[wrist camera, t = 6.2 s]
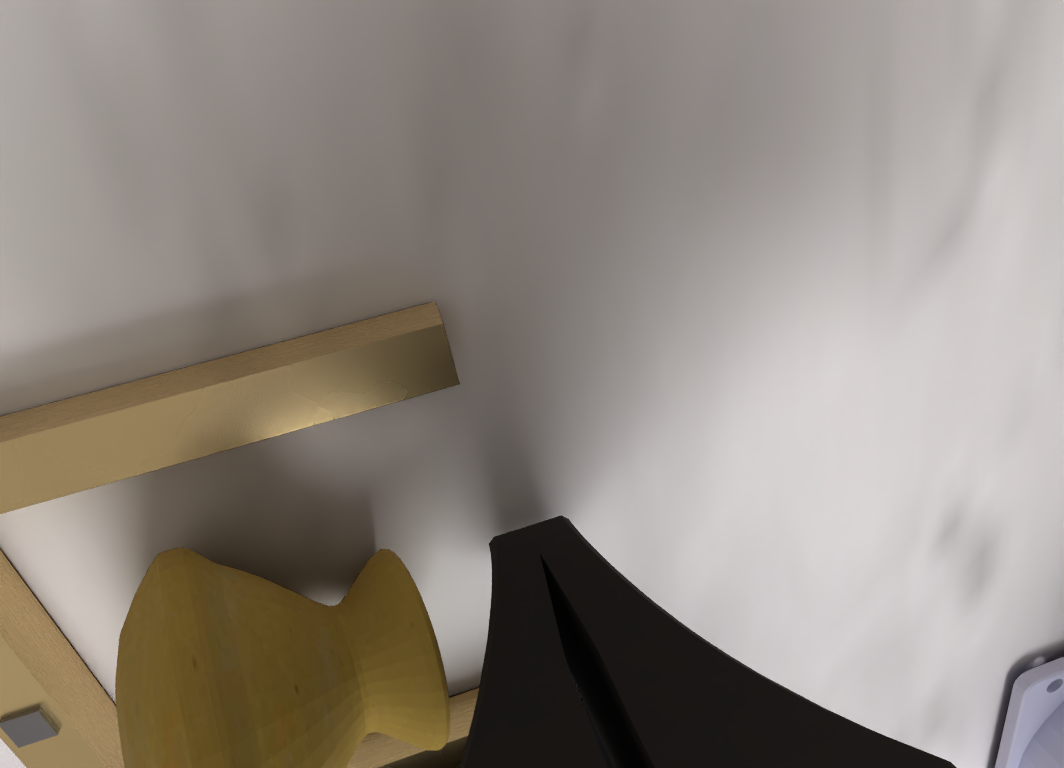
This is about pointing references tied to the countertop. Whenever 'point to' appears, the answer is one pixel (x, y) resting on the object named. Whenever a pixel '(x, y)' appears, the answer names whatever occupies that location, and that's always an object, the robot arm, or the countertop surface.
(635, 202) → the countertop surface
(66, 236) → the countertop surface
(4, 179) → the countertop surface
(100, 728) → the u-shaped bracket
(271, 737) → the knob
